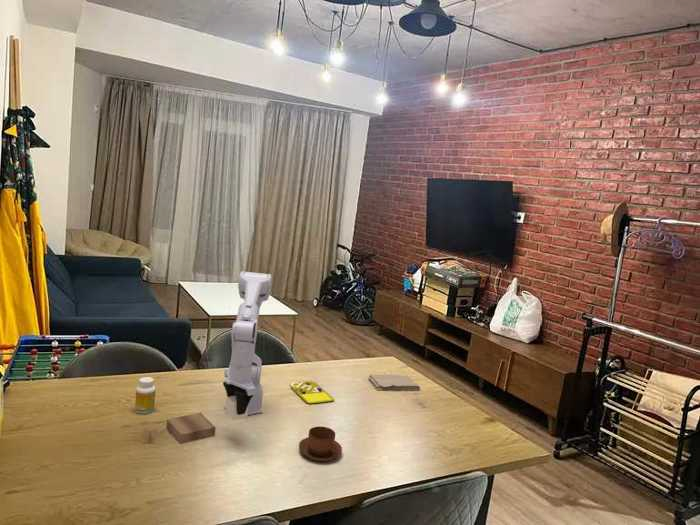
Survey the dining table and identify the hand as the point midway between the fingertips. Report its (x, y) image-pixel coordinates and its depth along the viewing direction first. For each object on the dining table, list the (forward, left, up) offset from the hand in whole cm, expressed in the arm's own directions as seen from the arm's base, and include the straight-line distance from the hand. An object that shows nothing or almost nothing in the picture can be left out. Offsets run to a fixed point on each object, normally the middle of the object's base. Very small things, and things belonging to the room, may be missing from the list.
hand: (236, 410), depth 144 cm
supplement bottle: (+16, -27, -9) cm, 33 cm away
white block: (0, 0, -2) cm, 2 cm away
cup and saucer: (-18, +17, -9) cm, 26 cm away
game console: (-39, -18, -10) cm, 44 cm away
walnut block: (+9, -9, -9) cm, 16 cm away
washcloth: (-74, -12, -10) cm, 76 cm away
